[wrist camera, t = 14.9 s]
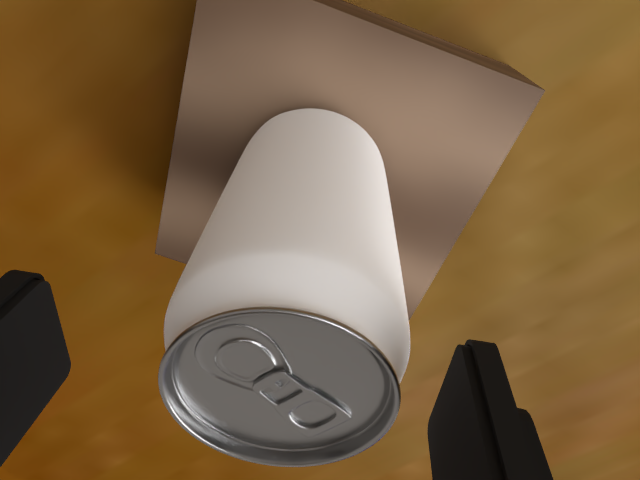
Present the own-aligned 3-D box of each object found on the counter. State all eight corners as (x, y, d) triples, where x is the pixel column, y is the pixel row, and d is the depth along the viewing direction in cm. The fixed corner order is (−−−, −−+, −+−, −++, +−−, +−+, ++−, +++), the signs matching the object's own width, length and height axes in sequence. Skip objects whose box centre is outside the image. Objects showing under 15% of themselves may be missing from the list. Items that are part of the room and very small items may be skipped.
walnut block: (244, -39, 22) (204, -43, 17) (507, 64, 23) (545, 90, 18) (194, 203, 29) (154, 253, 24) (396, 273, 30) (400, 335, 25)
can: (319, 70, 18) (282, 235, 8) (413, 184, 20) (475, 418, 10) (212, 167, 20) (82, 383, 10) (307, 257, 23) (276, 501, 13)
